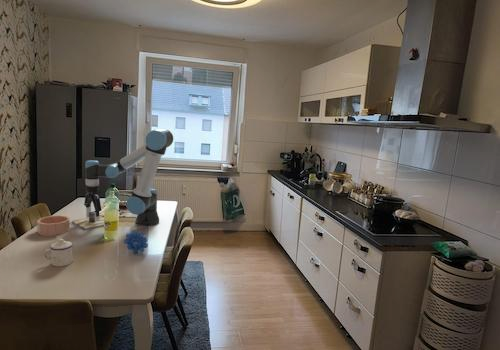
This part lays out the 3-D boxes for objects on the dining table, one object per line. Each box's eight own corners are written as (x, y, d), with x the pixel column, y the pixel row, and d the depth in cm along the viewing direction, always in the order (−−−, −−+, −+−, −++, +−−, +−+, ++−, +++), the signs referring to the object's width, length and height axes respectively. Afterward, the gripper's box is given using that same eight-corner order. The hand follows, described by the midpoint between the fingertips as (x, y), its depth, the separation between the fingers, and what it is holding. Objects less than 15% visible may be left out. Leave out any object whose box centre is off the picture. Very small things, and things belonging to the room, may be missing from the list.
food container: (134, 205, 259) (134, 192, 257) (130, 207, 253) (130, 194, 251) (119, 203, 260) (119, 191, 258) (115, 205, 254) (115, 193, 252)
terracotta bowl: (74, 231, 196) (74, 220, 195) (44, 238, 184) (43, 226, 182) (62, 224, 206) (62, 214, 205) (33, 230, 194) (33, 219, 192)
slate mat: (118, 224, 212) (118, 224, 212) (83, 232, 195) (83, 231, 195) (101, 216, 226) (101, 216, 226) (67, 223, 209) (67, 222, 209)
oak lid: (113, 223, 212) (113, 213, 211) (85, 230, 198) (84, 218, 197) (99, 217, 223) (99, 207, 222) (71, 222, 209) (71, 211, 208)
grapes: (123, 256, 167) (123, 234, 165) (124, 251, 173) (124, 229, 171) (147, 255, 170) (147, 233, 168) (147, 250, 176) (148, 229, 174)
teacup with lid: (73, 257, 162) (73, 235, 160) (72, 265, 154) (71, 242, 152) (45, 260, 157) (44, 237, 155) (42, 269, 149) (40, 244, 147)
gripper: (77, 182, 210) (78, 216, 214) (95, 189, 196) (95, 224, 200) (89, 181, 216) (90, 213, 220) (107, 187, 202) (107, 222, 206)
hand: (92, 219), depth 210 cm, fingers open, 10 cm apart
